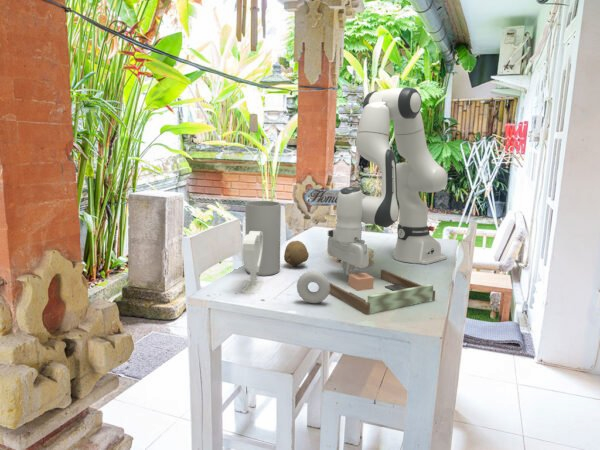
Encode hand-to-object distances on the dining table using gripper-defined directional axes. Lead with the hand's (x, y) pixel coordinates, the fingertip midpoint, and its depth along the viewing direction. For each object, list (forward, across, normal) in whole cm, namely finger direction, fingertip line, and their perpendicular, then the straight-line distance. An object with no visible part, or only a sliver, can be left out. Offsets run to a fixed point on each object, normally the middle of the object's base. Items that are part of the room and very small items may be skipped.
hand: (346, 273), depth 160 cm
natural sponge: (+2, +22, +8) cm, 23 cm away
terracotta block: (+2, -8, 0) cm, 8 cm away
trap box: (+2, -16, 0) cm, 16 cm away
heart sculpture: (+2, +7, +32) cm, 33 cm away
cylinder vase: (+2, +22, +22) cm, 31 cm away
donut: (+2, -14, +22) cm, 26 cm away
